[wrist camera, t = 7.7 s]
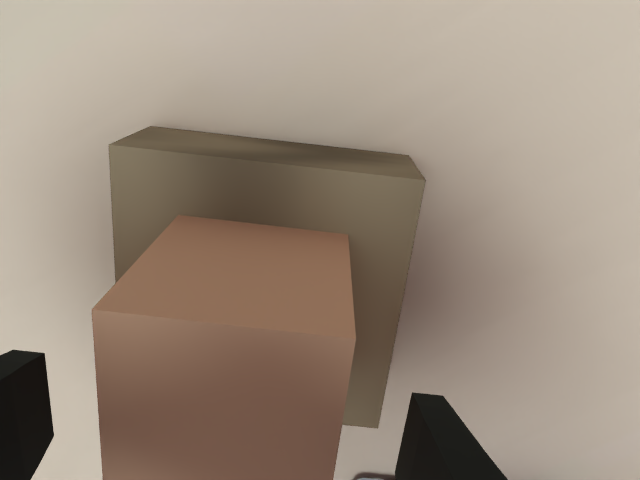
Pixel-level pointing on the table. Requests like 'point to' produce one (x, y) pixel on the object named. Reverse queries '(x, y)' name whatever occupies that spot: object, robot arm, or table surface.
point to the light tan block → (226, 354)
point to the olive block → (283, 218)
